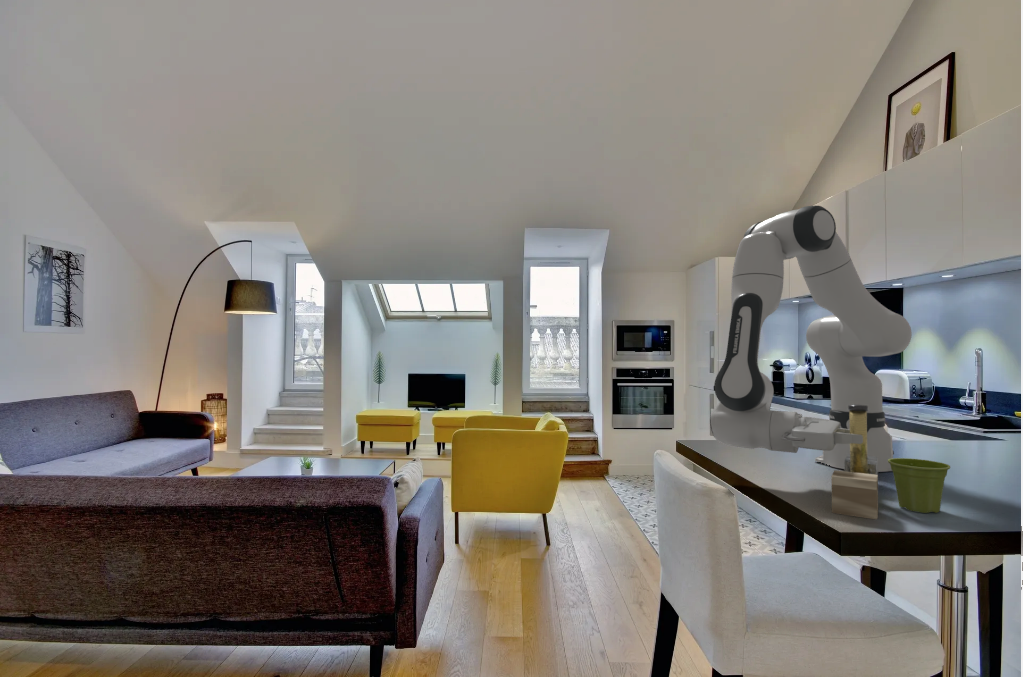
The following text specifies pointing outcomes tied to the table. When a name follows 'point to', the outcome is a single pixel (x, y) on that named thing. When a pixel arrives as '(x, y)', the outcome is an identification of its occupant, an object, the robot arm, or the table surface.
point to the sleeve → (871, 464)
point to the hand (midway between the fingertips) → (863, 437)
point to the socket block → (855, 494)
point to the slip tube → (860, 450)
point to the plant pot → (919, 483)
